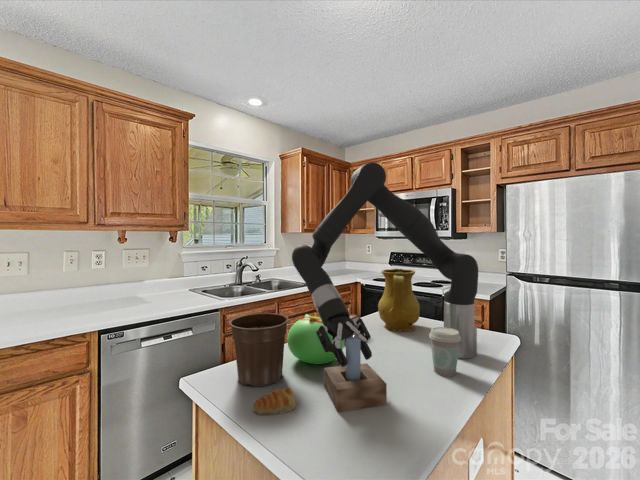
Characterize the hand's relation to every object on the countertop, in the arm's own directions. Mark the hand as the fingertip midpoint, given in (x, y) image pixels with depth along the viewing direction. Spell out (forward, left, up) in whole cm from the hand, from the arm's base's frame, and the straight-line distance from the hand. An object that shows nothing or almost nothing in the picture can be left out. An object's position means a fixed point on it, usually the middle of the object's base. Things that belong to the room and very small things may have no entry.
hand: (357, 361), depth 77 cm
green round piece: (+5, -24, -9) cm, 27 cm away
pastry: (+19, -1, -9) cm, 22 cm away
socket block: (+1, -1, -9) cm, 9 cm away
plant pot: (+23, -17, -9) cm, 30 cm away
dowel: (+1, -1, -9) cm, 9 cm away
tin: (-13, -42, -9) cm, 45 cm away
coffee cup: (-29, -7, -9) cm, 32 cm away
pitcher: (-36, -49, -9) cm, 62 cm away
